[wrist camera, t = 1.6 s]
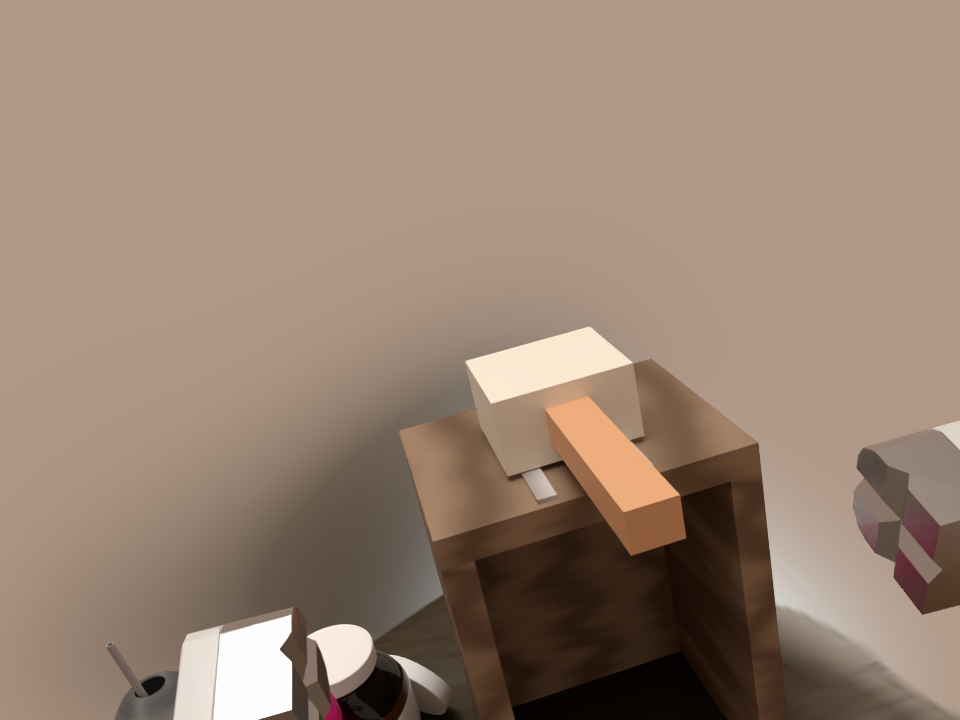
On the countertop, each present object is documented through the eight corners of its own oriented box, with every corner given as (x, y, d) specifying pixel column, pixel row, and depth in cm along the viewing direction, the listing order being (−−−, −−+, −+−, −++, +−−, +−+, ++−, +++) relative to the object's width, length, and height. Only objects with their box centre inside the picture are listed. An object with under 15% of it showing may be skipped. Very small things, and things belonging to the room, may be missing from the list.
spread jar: (294, 816, 65) (247, 699, 61) (332, 705, 75) (294, 598, 71) (446, 806, 63) (408, 683, 59) (463, 692, 73) (433, 582, 69)
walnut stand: (521, 865, 57) (431, 537, 48) (473, 702, 72) (397, 427, 62) (792, 768, 59) (757, 438, 50) (691, 629, 74) (650, 355, 65)
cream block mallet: (573, 598, 40) (554, 507, 38) (480, 426, 59) (464, 361, 58) (748, 541, 41) (738, 451, 39) (601, 391, 60) (589, 326, 59)
